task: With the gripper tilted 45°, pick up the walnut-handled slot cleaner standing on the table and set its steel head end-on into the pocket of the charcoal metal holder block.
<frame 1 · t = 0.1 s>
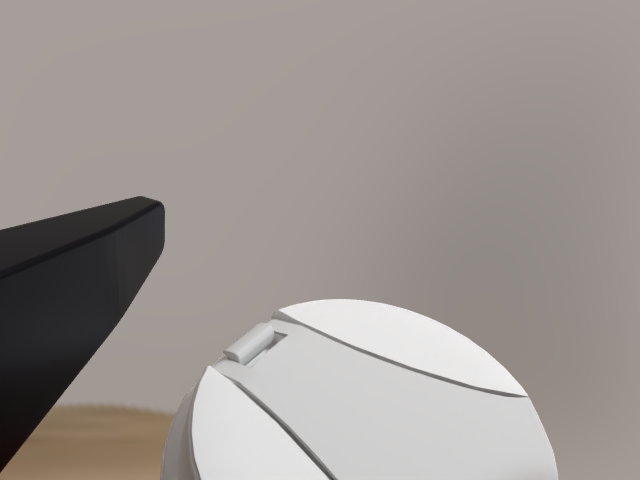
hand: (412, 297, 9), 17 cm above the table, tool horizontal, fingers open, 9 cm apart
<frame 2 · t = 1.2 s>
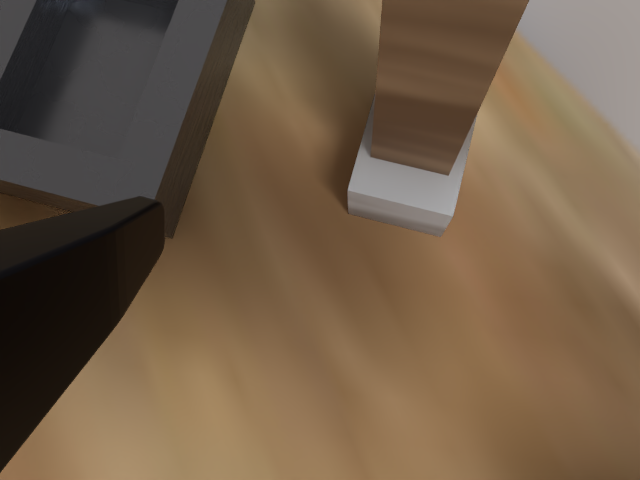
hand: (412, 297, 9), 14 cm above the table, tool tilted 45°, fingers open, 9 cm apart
slot cleaner tool: (410, 160, 25), on the table
holder block: (114, 90, 26), on the table
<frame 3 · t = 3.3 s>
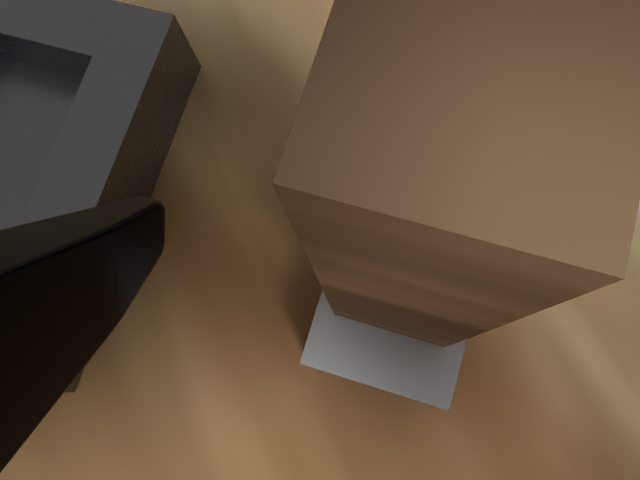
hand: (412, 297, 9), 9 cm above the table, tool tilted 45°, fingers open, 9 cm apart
slot cleaner tool: (397, 293, 18), on the table
holder block: (13, 181, 20), on the table
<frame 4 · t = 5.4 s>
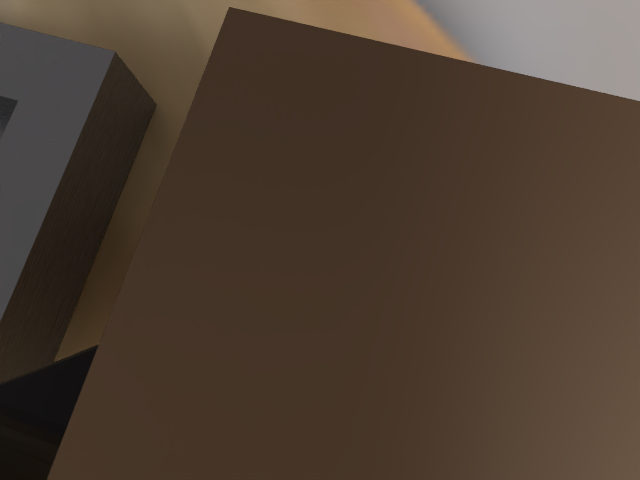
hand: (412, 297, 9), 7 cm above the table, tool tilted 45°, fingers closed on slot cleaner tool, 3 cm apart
slot cleaner tool: (379, 378, 15), on the table, touching gripper
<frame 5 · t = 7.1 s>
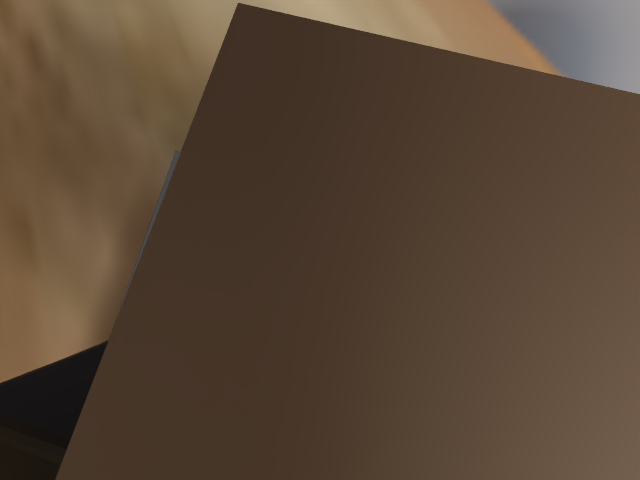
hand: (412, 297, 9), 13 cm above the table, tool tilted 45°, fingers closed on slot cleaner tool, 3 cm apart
slot cleaner tool: (380, 378, 15), point 6 cm above the table, touching gripper
holder block: (271, 351, 22), on the table
when the fingers open (8 cm above the table, at t = 9.0 s): slot cleaner tool stays where it is, resting on holder block.
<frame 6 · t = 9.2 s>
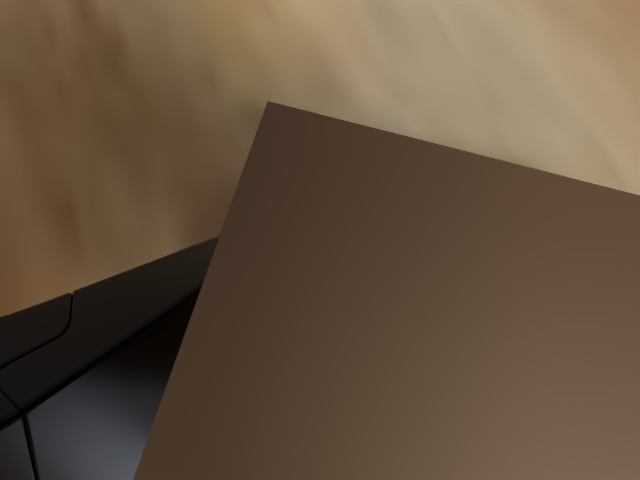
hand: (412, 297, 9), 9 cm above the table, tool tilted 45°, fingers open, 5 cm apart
slot cleaner tool: (380, 378, 16), point 1 cm above the table, touching holder block
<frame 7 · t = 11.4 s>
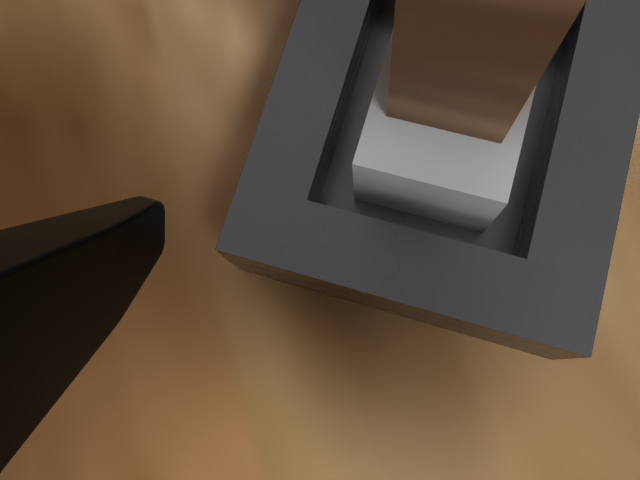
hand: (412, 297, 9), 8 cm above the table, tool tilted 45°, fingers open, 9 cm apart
slot cleaner tool: (442, 126, 18), point 1 cm above the table, touching holder block
holder block: (437, 138, 19), on the table
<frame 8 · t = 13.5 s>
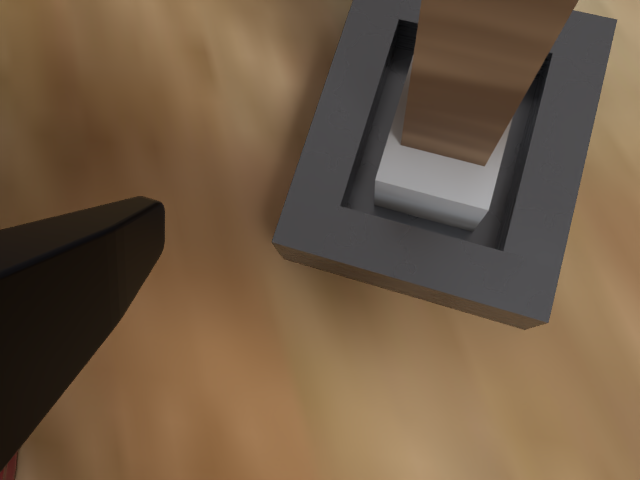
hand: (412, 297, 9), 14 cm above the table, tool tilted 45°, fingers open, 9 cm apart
slot cleaner tool: (442, 150, 23), point 1 cm above the table, touching holder block
holder block: (438, 158, 24), on the table
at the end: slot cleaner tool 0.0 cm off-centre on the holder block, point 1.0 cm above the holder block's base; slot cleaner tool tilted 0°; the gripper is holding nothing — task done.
